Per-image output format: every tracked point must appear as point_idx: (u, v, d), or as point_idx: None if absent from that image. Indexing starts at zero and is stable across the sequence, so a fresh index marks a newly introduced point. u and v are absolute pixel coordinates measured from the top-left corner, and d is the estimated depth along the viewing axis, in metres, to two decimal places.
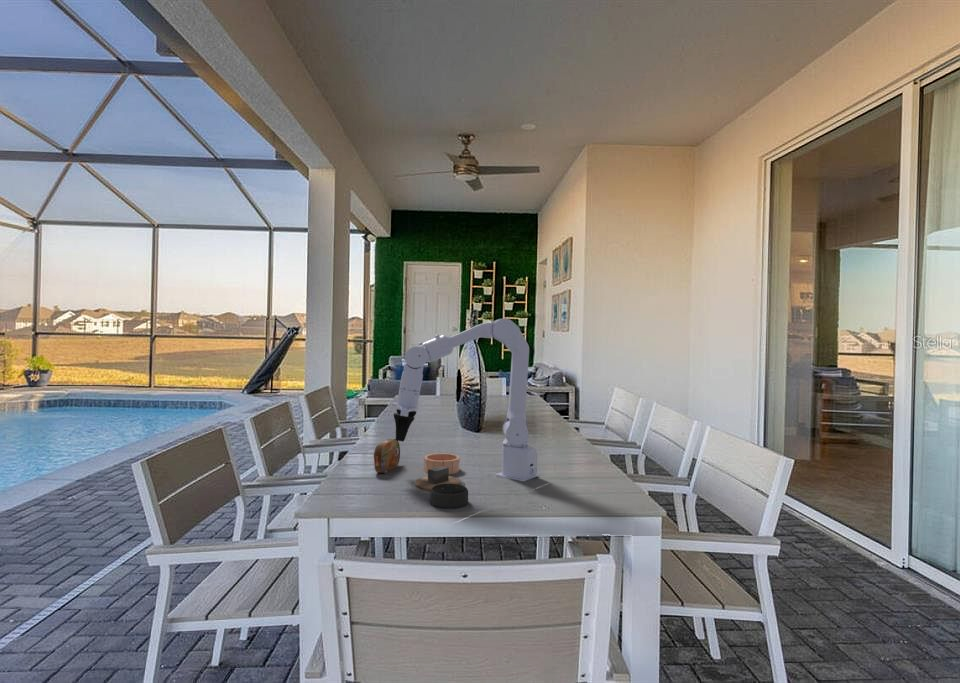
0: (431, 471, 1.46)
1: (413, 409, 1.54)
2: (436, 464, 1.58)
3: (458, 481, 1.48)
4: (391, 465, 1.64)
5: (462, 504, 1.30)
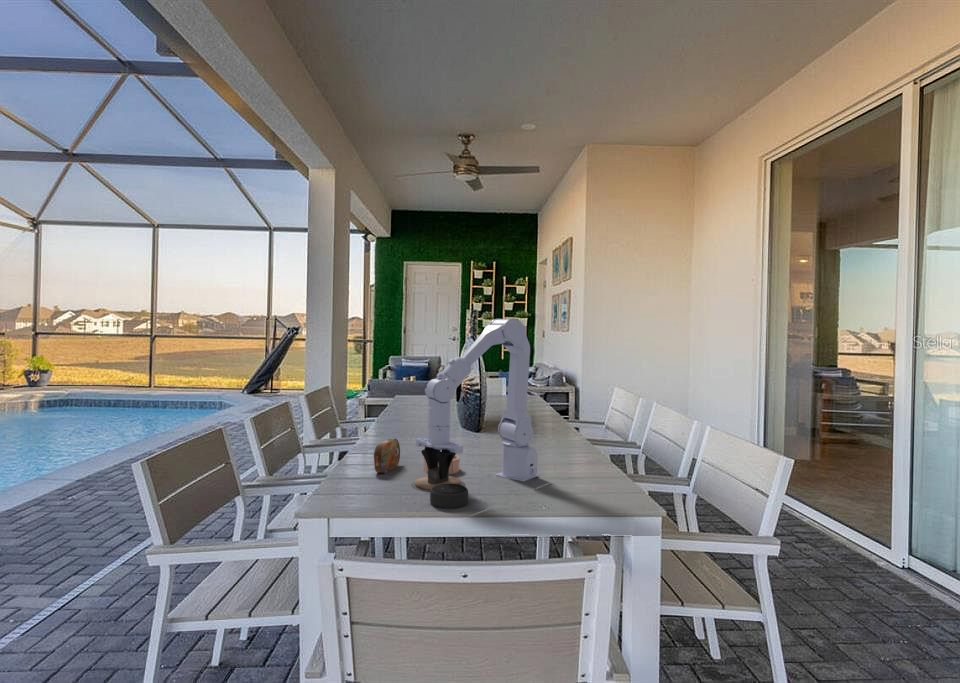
0: (431, 471, 1.46)
1: None
2: None
3: (458, 481, 1.48)
4: (391, 465, 1.64)
5: (462, 504, 1.30)
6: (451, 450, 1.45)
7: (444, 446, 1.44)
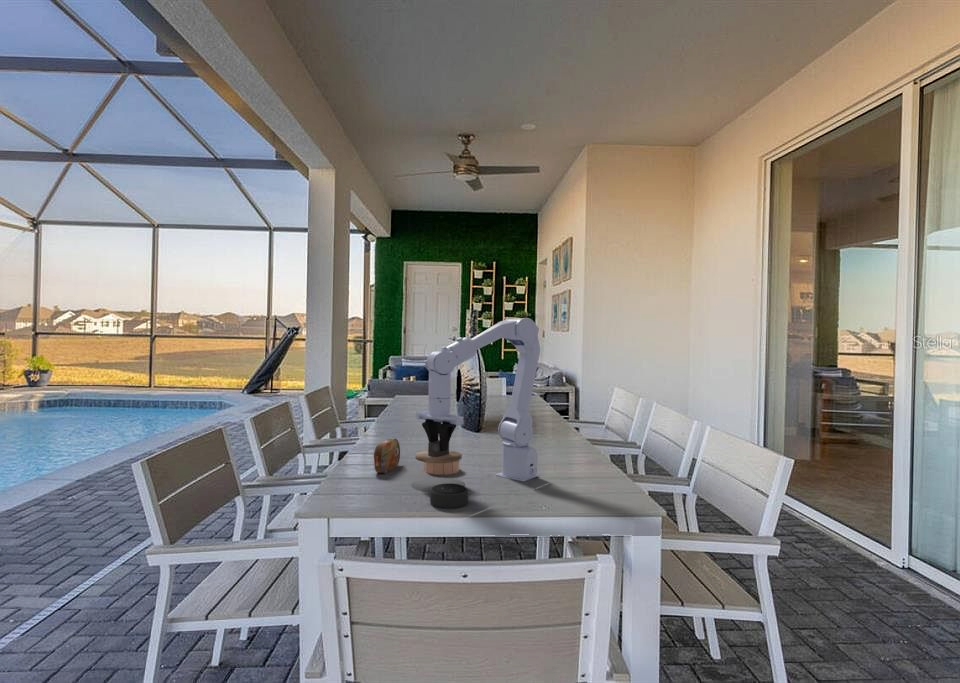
0: (431, 444, 1.46)
1: None
2: (436, 464, 1.58)
3: (458, 455, 1.48)
4: (391, 465, 1.64)
5: (462, 504, 1.30)
6: (452, 422, 1.45)
7: (445, 418, 1.44)
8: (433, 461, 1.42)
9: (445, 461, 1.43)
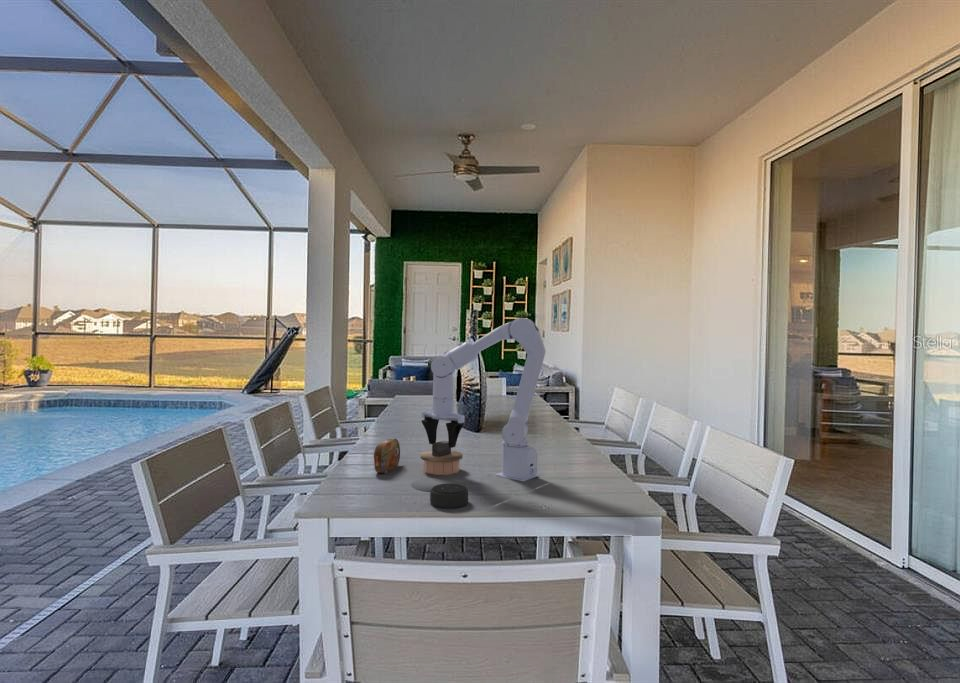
0: (435, 445, 1.61)
1: None
2: (436, 464, 1.58)
3: (459, 454, 1.63)
4: (391, 465, 1.64)
5: (462, 504, 1.30)
6: (454, 420, 1.60)
7: (447, 416, 1.59)
8: (436, 460, 1.57)
9: (447, 460, 1.58)
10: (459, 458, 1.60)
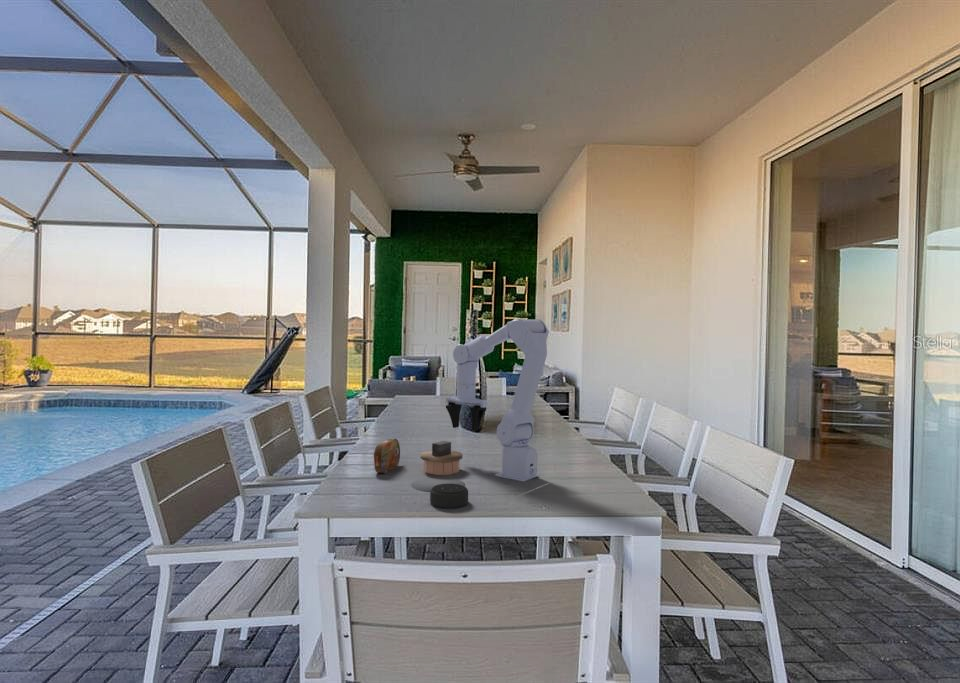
0: (435, 445, 1.61)
1: None
2: (436, 464, 1.58)
3: (459, 454, 1.63)
4: (391, 465, 1.64)
5: (462, 504, 1.30)
6: (477, 405, 1.70)
7: (471, 401, 1.69)
8: (436, 460, 1.57)
9: (447, 460, 1.58)
10: (459, 458, 1.60)
